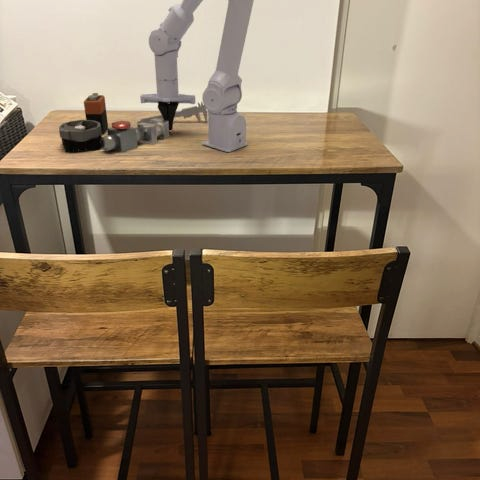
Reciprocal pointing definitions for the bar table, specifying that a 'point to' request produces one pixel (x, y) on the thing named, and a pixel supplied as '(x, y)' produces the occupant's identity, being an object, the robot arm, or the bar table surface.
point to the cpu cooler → (80, 135)
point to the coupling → (154, 130)
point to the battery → (96, 110)
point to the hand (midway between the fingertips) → (169, 129)
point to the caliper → (182, 113)
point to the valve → (121, 137)
